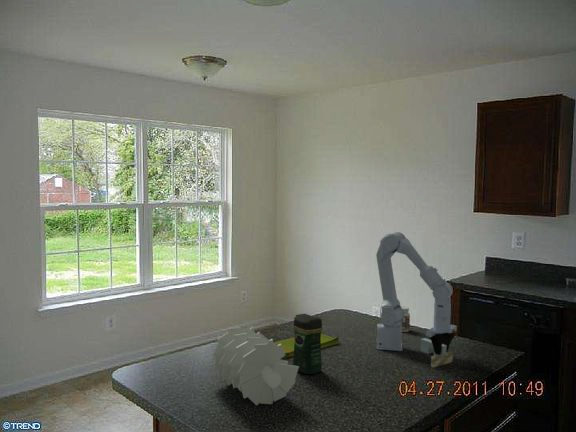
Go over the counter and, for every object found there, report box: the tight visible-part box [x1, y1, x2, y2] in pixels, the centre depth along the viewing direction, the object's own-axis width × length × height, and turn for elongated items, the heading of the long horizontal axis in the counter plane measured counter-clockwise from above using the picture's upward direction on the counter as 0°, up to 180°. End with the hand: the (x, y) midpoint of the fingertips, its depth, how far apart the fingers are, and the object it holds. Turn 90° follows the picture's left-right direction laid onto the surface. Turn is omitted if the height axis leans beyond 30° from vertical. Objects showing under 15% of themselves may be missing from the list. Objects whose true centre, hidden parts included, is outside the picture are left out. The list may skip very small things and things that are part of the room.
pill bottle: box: [400, 305, 411, 333], centre depth 207 cm, size 6×6×10 cm
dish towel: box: [273, 333, 340, 360], centre depth 183 cm, size 15×36×3 cm, turn 128°
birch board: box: [430, 350, 454, 368], centre depth 168 cm, size 10×1×4 cm, turn 124°
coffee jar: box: [292, 313, 323, 375], centre depth 160 cm, size 10×8×19 cm
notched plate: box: [419, 337, 447, 358], centre depth 178 cm, size 10×2×4 cm, turn 34°
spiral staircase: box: [212, 324, 299, 406], centre depth 142 cm, size 18×18×25 cm
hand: (440, 353), depth 175 cm, fingers open, 3 cm apart
